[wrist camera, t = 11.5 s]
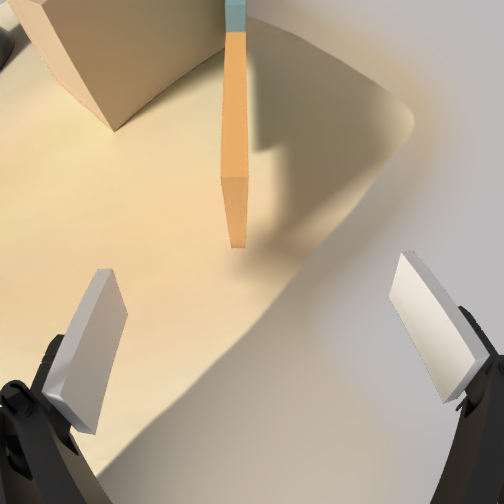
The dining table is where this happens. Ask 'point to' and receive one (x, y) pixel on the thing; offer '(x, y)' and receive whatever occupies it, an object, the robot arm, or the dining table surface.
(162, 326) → the dining table surface
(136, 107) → the kraft box
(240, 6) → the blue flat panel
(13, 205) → the dining table surface
